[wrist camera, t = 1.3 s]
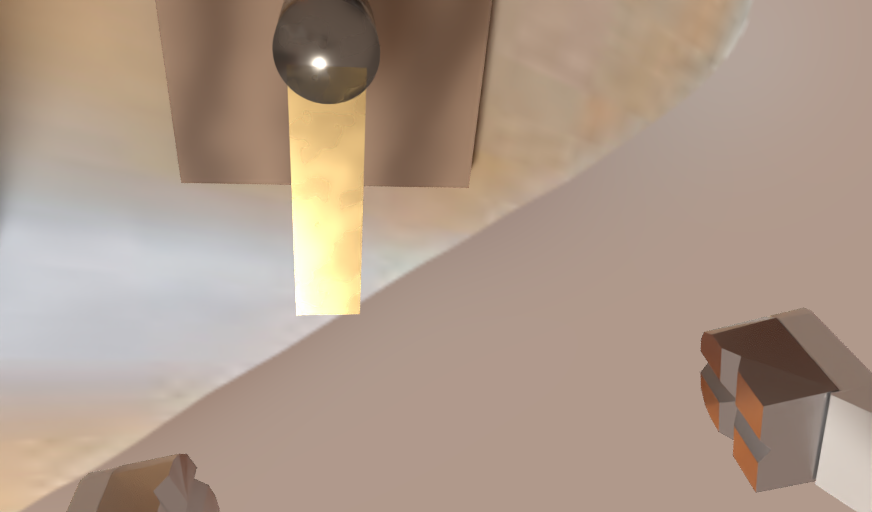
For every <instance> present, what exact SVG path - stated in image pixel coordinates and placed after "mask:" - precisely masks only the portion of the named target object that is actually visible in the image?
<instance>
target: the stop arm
mask: <svg viewBox="0 0 872 512" xmlns="http://www.w3.org/2000/svg"><path fill="white" fill-rule="evenodd" d="M272 52H273V59H274V63H275V66H276V68H277V71H278V73H279V75H280V76H281V78H282V79H283V81H284V82H285V83H286V85H287V86H288V111H289V136H290V161H291V187H292V212H293V238H294V263H295V288H296V314H297V315H323V314H360V290H361V254H362V219H363V184H364V148H365V113H366V88H367V87H368V86H369V85H370V84H371V82H372V81H373V79H374V77H375V75H376V73H377V70H378V67H379V63H380V44H379V39H378V34H377V29H376V24H375V20H374V15H373V12H372V9H371V6H370V4H369V2H368V0H284V3H283V5H282V8H281V12H280V15H279V19H278V22H277V26H276V29H275V33H274V36H273V43H272Z"/></svg>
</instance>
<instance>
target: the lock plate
mask: <svg viewBox="0 0 872 512" xmlns="http://www.w3.org/2000/svg"><path fill="white" fill-rule="evenodd" d="M155 2H156V9H157V16H158V23H159V30H160V37H161V44H162V51H163V58H164V65H165V72H166V79H167V86H168V93H169V100H170V107H171V114H172V121H173V128H174V135H175V142H176V149H177V156H178V163H179V170H180V177H181V183H222V184H280V185H291V161H290V136H289V111H288V86H287V85H286V83H285V82H284V81H283V79H282V78H281V76H280V75H279V73H278V71H277V68H276V66H275V63H274V59H273V52H272V43H273V36H274V33H275V29H276V26H277V22H278V19H279V15H280V12H281V8H282V5H283V3H284V0H155ZM368 2H369V4H370V6H371V9H372V12H373V15H374V20H375V24H376V29H377V34H378V39H379V44H380V63H379V67H378V70H377V73H376V75H375V77H374V79H373V81H372V82H371V84H370V85H369V86H368V87H367V88H366V113H365V148H364V184H363V186H395V187H453V188H469V180H470V172H471V164H472V157H473V149H474V141H475V133H476V125H477V117H478V109H479V102H480V94H481V86H482V78H483V70H484V62H485V55H486V47H487V39H488V31H489V23H490V15H491V7H492V0H368Z"/></svg>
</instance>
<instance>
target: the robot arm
mask: <svg viewBox="0 0 872 512" xmlns="http://www.w3.org/2000/svg"><path fill="white" fill-rule="evenodd" d="M701 353H702V354H703V356H704V357H705V359H706V360H707V362H708V363H707V365H706V366H705V367H704V369H703V370H702V371H701V373H700V375H701V376H700V377H701V391H702V395H703V399H704V403H705V406H706V409H707V411H708V413H709V415H710V418H711V420H712V421H713V423H714V425H715V427H716V428H717V430H718V432H720V433H722V434H723V435H725V436H727V437H729V438H731V439H733V440H734V441H733V457H734V458H735V460H736V461H737V463H738V465H739V466H740V468H741V470H742V471H743V473H744V474H745V476H746V478H747V479H748V481H749V483H750V484H751V486H752V487H753V489H754V491H755V492H762V491H767V490H772V489H777V488H782V487H788V486H793V485H798V484H803V483H808V482H814V481H816V482H815V484H816V485H817V486H819V487H820V488H822V489H823V490H825V491H826V492H828V493H829V494H831V495H833V496H834V497H835V498H837V499H838V500H840V501H841V502H843V503H844V504H846V505H847V506H849V507H850V508H852V509H854V510H855V511H857V512H872V373H871V371H870V370H869V369H868V368H867V367H866V366H865V365H864V364H863V363H862V362H861V361H860V360H859V359H858V358H857V357H856V356H855V355H854V354H853V353H852V352H851V351H850V350H849V349H848V348H847V347H846V346H845V345H844V344H843V343H842V342H841V341H840V340H839V339H838V338H837V336H836V335H835V334H834V333H833V332H832V331H831V330H830V329H829V328H828V327H827V326H826V325H825V324H824V323H823V322H822V321H821V320H820V319H819V318H818V317H817V316H816V315H815V314H814V313H813V312H812V311H811V310H808V309H806V308H800V309H797V310H792V311H788V312H784V313H780V314H775V315H771V316H770V317H763V318H759V319H755V320H751V321H747V322H743V323H738V324H734V325H730V326H726V327H722V328H718V329H714V330H710V331H706V332H704V333H703V335H702V338H701ZM196 469H197V467H196V465H195V464H194V463H193V461H192V460H191V459H190V457H189V456H188V455H187V454H175V455H171V456H166V457H161V458H156V459H151V460H146V461H141V462H137V463H132V464H127V465H122V466H119V467H116V468H110V469H106V470H100V471H96V472H91V473H88V474H87V475H86V476H85V477H84V478H83V479H82V480H81V481H80V482H79V484H78V487H77V489H76V491H75V493H74V496H73V498H72V500H71V502H70V505H69V507H68V509H67V511H66V512H220V510H219V506H218V503H217V500H216V497H215V494H214V493H213V491H212V490H211V488H210V486H209V485H207V484H205V483H203V482H201V481H198V480H196V479H194V477H195V473H196Z"/></svg>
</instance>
